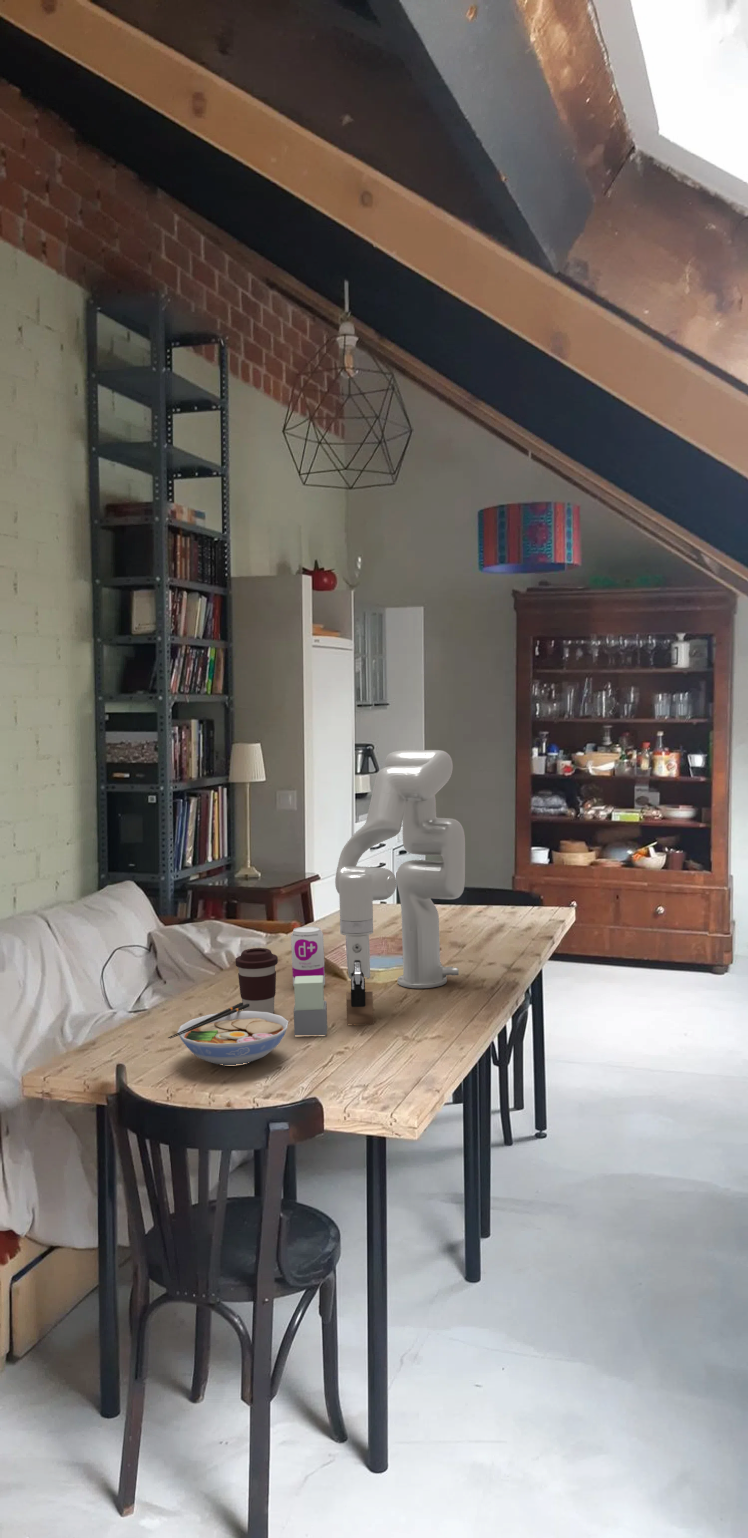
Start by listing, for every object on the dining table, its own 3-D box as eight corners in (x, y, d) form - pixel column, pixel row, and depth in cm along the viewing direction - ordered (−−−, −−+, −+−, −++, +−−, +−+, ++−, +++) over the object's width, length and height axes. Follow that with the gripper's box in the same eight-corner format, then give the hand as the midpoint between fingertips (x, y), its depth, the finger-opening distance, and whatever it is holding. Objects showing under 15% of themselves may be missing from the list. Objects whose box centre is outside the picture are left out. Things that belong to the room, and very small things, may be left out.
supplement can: (320, 991, 283) (318, 932, 282) (289, 991, 285) (286, 932, 284) (328, 983, 291) (326, 926, 290) (297, 982, 293) (295, 925, 292)
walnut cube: (373, 1016, 261) (372, 991, 260) (373, 1024, 255) (372, 998, 254) (347, 1017, 260) (346, 992, 260) (347, 1025, 254) (346, 999, 254)
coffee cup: (286, 1008, 269) (283, 947, 268) (269, 1020, 260) (266, 956, 259) (248, 1006, 272) (246, 945, 271) (230, 1018, 263) (227, 954, 262)
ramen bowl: (240, 1089, 216) (238, 1047, 215) (151, 1071, 228) (149, 1031, 227) (315, 1051, 237) (313, 1013, 236) (230, 1036, 249) (228, 1000, 248)
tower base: (327, 1026, 254) (326, 1000, 253) (326, 1036, 247) (325, 1009, 246) (296, 1028, 254) (295, 1001, 253) (294, 1037, 247) (293, 1010, 246)
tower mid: (324, 1001, 253) (323, 975, 253) (323, 1009, 247) (322, 982, 246) (296, 1002, 253) (295, 976, 252) (295, 1010, 247) (294, 983, 246)
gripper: (373, 933, 247) (375, 1010, 248) (372, 919, 264) (374, 991, 265) (339, 934, 247) (341, 1011, 248) (340, 920, 264) (342, 992, 265)
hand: (358, 1000), depth 257 cm, fingers open, 9 cm apart
